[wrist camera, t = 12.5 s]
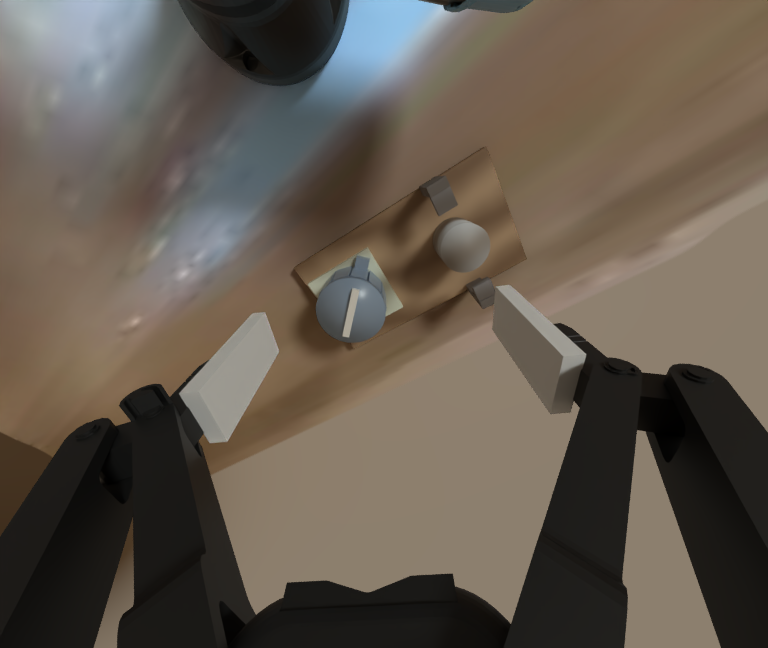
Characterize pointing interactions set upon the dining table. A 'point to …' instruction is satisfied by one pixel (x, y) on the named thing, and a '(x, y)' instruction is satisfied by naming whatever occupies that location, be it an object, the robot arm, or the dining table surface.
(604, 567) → the robot arm
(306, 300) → the dining table surface
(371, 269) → the base
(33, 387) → the dining table surface
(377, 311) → the cap
